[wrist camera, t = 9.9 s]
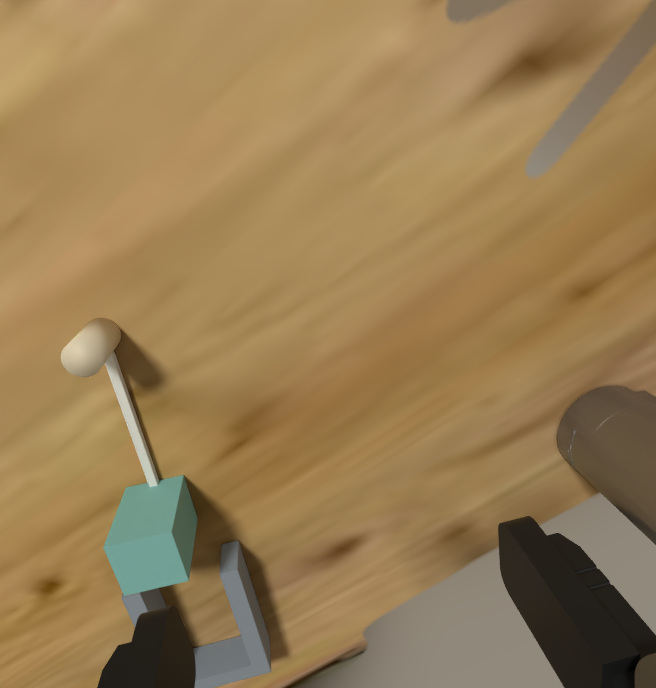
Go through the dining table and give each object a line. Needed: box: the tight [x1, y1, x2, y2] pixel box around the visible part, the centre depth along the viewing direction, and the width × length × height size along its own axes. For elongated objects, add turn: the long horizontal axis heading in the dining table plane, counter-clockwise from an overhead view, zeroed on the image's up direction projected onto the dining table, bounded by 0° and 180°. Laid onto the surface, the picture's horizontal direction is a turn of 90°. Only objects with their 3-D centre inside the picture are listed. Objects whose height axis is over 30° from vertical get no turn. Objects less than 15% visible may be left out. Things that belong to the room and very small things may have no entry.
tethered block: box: [61, 318, 198, 596], centre depth 37 cm, size 5×20×7 cm, turn 9°
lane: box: [122, 541, 271, 688], centre depth 46 cm, size 10×14×4 cm
